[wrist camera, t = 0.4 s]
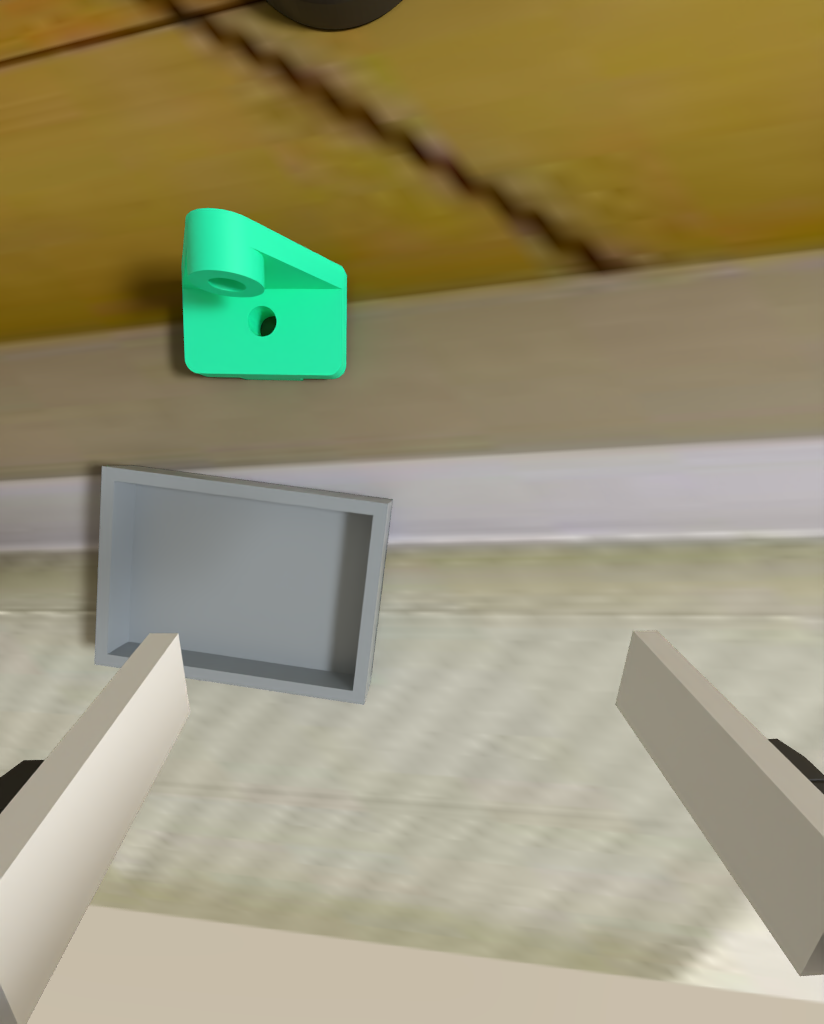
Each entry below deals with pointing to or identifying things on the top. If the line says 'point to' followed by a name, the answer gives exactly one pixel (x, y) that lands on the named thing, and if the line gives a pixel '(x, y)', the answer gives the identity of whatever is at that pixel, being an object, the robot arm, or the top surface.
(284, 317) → the camera mount
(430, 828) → the top surface
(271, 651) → the tray
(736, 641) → the top surface
